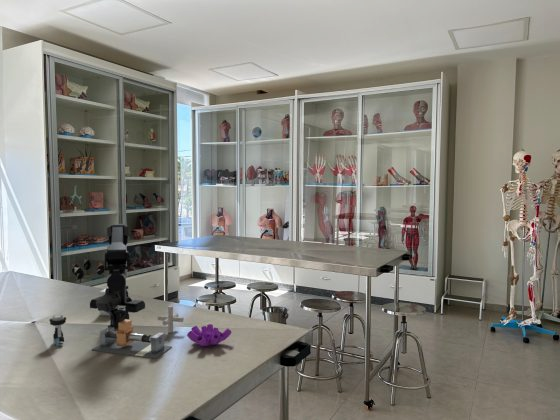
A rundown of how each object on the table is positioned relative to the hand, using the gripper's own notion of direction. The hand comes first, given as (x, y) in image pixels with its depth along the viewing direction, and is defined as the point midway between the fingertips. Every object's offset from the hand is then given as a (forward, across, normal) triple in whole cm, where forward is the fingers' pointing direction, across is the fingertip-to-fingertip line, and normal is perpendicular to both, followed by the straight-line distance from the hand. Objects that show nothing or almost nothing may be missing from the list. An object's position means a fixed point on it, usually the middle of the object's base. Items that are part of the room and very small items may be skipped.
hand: (117, 328), depth 148 cm
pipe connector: (+7, +10, +19) cm, 22 cm away
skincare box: (+7, -28, +34) cm, 45 cm away
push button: (+7, -21, -4) cm, 23 cm away
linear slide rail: (+7, +6, 0) cm, 9 cm away
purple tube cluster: (+7, +29, +11) cm, 31 cm away
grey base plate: (+7, +6, 0) cm, 9 cm away
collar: (+5, +3, 0) cm, 6 cm away
